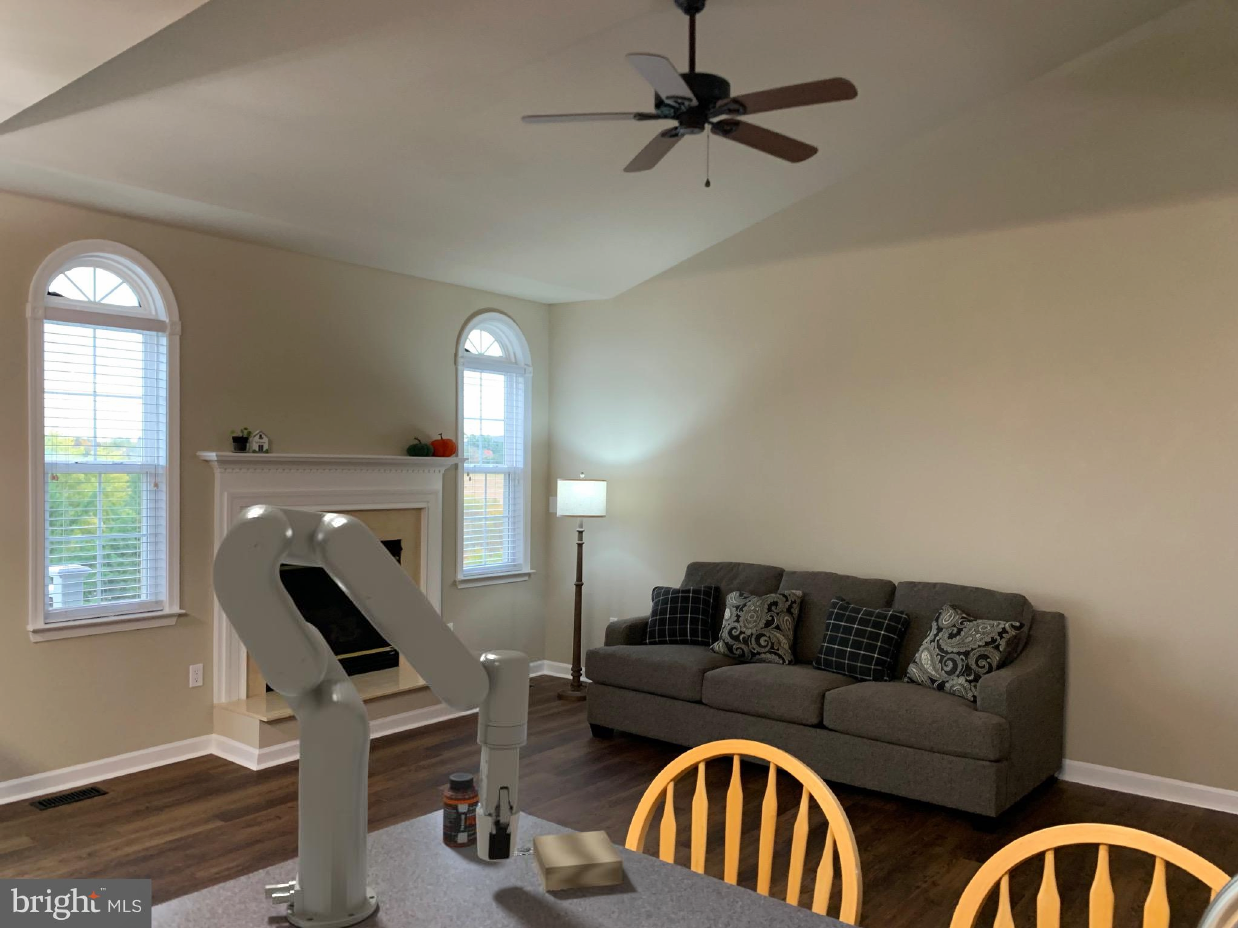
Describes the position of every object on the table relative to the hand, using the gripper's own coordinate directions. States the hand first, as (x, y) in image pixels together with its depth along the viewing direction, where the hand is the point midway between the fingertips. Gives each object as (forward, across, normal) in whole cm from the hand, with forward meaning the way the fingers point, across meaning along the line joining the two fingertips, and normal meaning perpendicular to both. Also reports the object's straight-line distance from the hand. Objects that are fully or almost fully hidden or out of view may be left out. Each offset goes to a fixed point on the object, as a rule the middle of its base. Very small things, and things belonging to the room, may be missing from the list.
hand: (496, 849), depth 145 cm
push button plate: (+5, -11, +6) cm, 14 cm away
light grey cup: (+1, 0, 0) cm, 1 cm away
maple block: (+5, -2, +13) cm, 14 cm away
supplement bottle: (+6, -17, -4) cm, 18 cm away
